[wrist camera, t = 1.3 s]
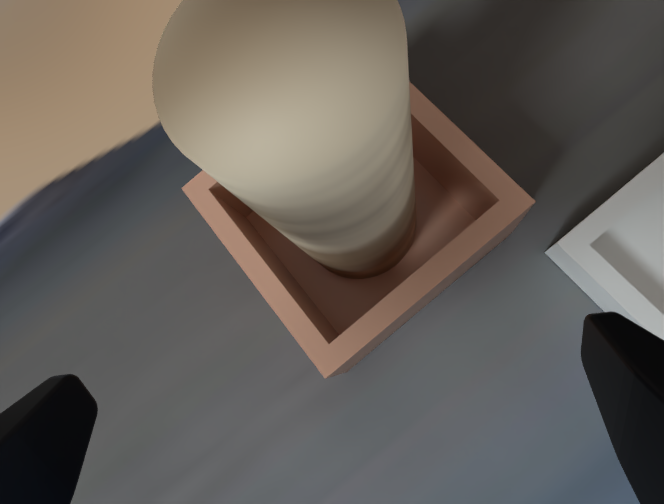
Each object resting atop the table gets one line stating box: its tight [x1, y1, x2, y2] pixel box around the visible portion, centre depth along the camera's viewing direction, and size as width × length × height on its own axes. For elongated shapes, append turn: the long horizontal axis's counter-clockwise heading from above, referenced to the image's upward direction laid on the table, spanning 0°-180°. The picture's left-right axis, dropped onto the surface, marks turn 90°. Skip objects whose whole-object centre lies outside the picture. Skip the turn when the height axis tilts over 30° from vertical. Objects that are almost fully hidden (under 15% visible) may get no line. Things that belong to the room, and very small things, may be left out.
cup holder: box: [182, 81, 536, 379], centre depth 19 cm, size 9×9×4 cm
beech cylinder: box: [153, 0, 416, 279], centre depth 14 cm, size 5×5×12 cm
